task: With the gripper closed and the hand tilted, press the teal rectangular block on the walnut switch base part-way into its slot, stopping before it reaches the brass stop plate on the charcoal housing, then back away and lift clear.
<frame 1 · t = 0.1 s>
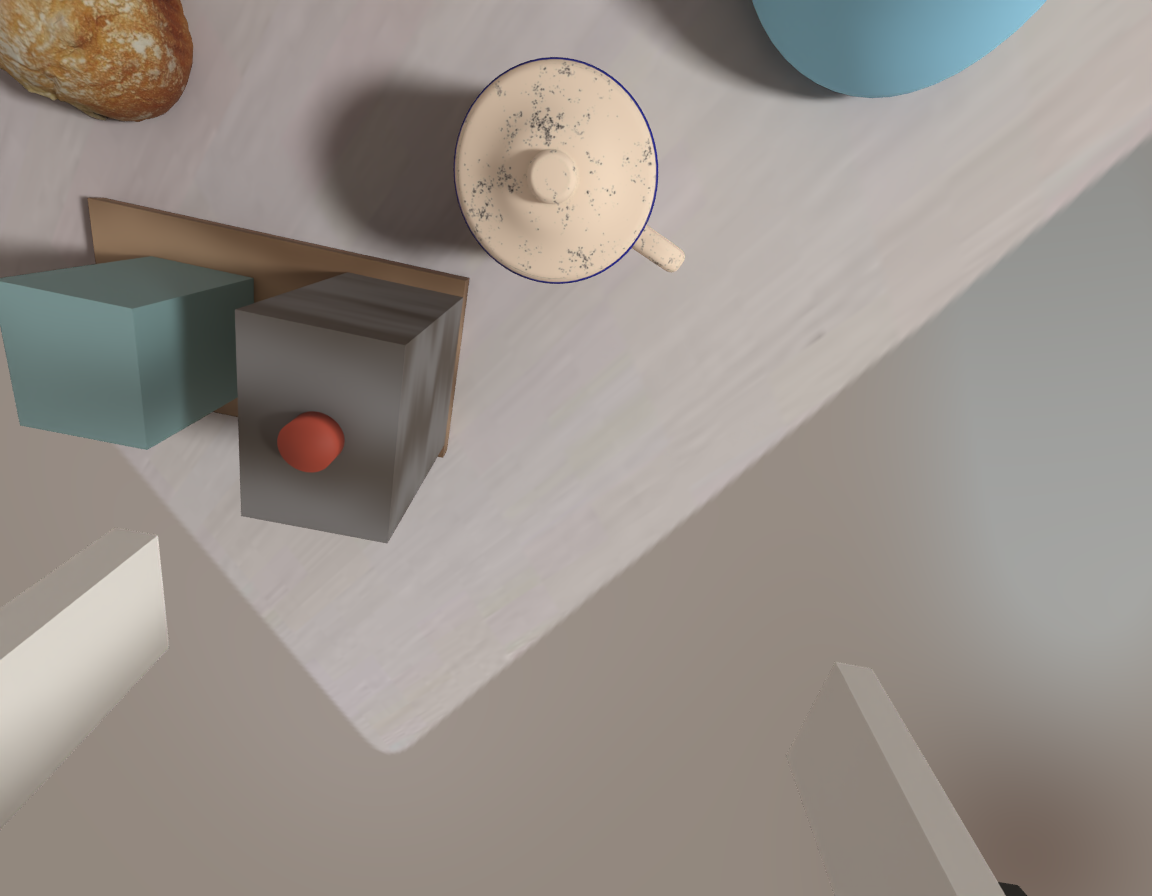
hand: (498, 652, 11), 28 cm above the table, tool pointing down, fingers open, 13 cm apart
teal rectangular block: (149, 343, 31), point 6 cm above the table, slide at 0.0 cm
switch base: (289, 334, 37), on the table
teacup with lid: (584, 196, 34), on the table
bread roll: (105, 13, 31), on the table
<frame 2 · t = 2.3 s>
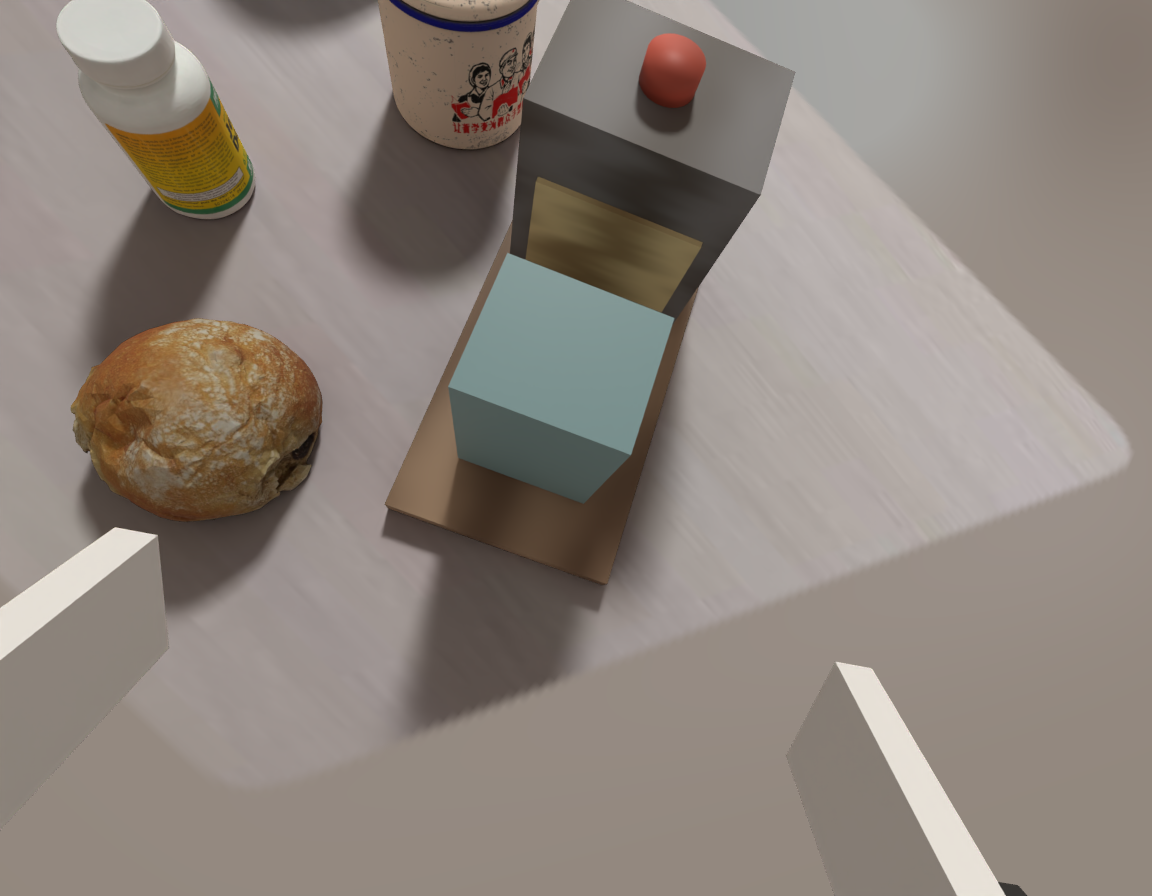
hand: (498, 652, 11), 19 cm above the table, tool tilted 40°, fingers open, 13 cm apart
teal rectangular block: (551, 397, 26), point 6 cm above the table, slide at 0.0 cm
supplement bottle: (210, 186, 34), on the table
switch base: (563, 369, 34), on the table
teacup with lid: (476, 89, 39), on the table
bread roll: (220, 431, 30), on the table
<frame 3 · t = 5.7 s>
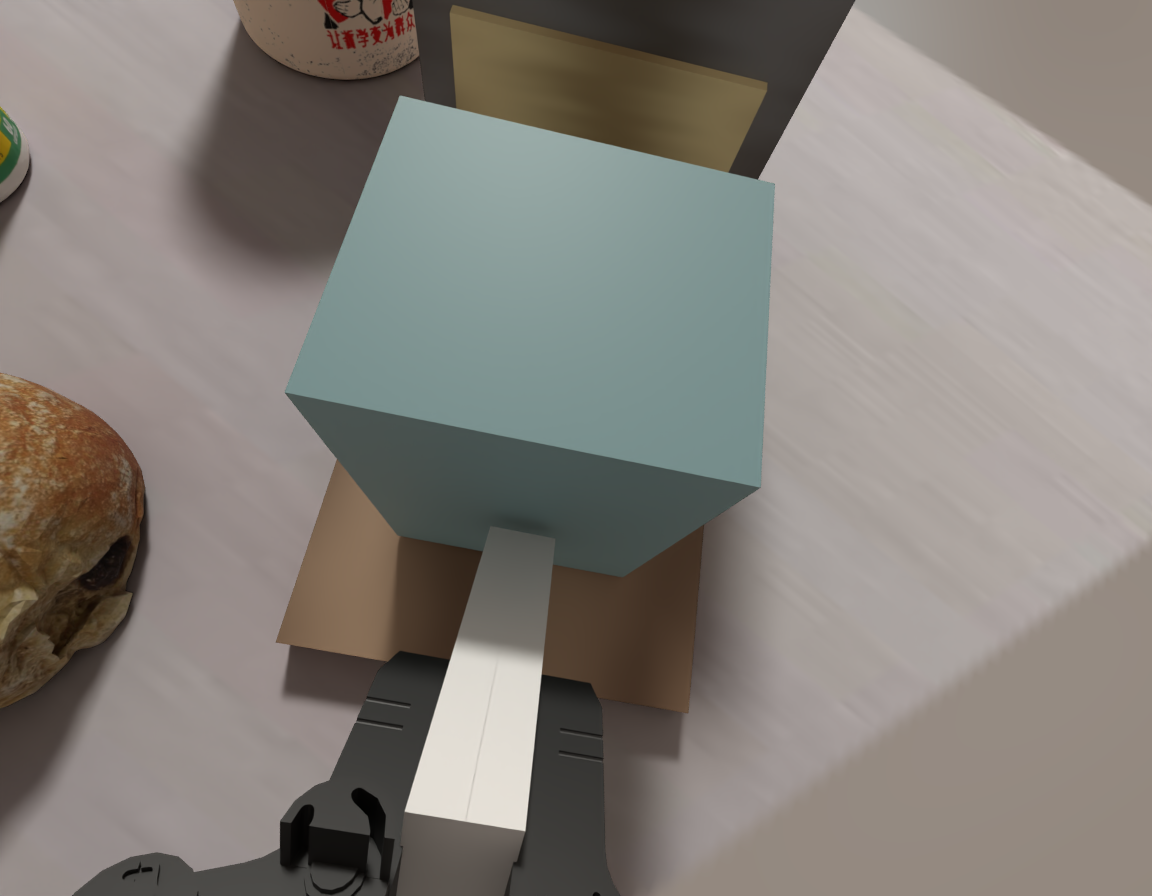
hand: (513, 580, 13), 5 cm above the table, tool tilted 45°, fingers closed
teal rectangular block: (541, 401, 14), point 6 cm above the table, slide at 0.0 cm, touching gripper
switch base: (550, 366, 22), on the table
teacup with lid: (364, 5, 27), on the table
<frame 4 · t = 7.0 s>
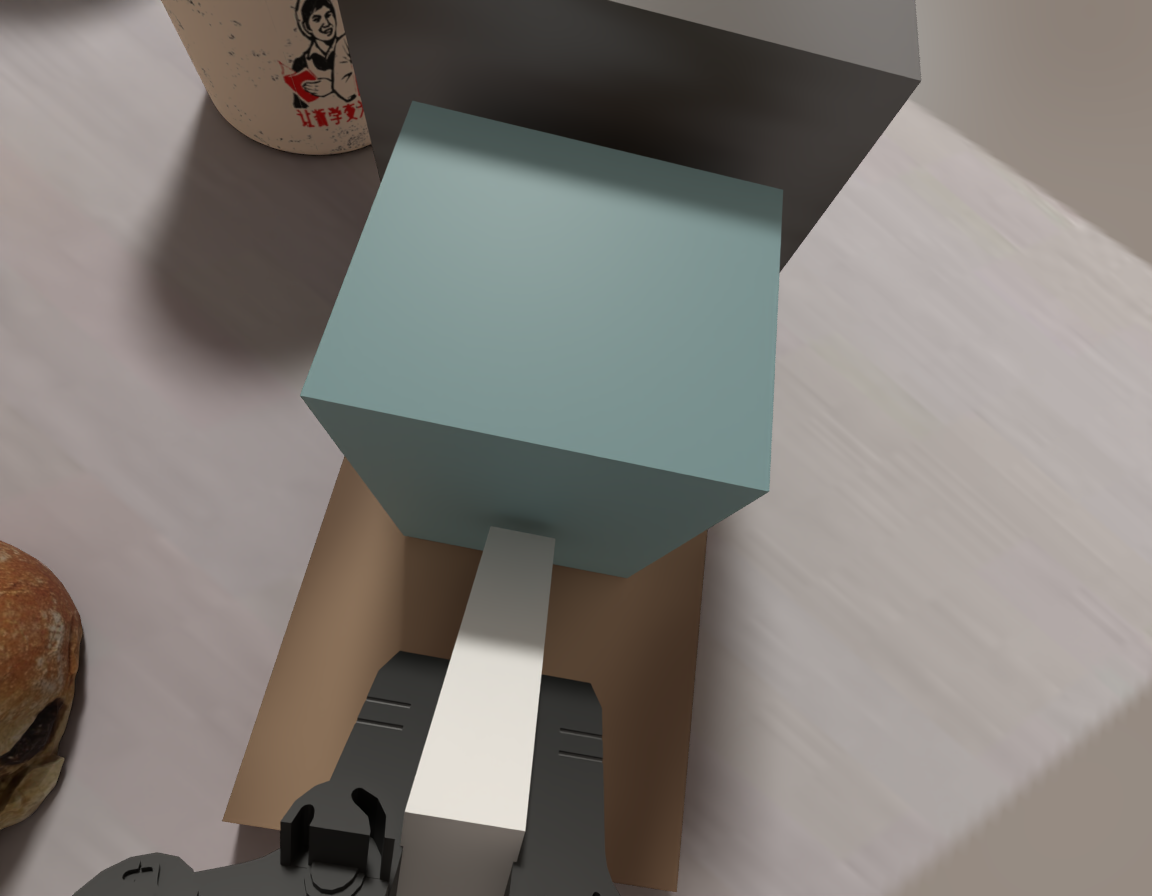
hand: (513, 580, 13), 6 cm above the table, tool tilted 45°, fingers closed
teal rectangular block: (548, 403, 14), point 6 cm above the table, slide at 4.4 cm, touching gripper
switch base: (532, 477, 20), on the table
teacup with lid: (341, 69, 26), on the table
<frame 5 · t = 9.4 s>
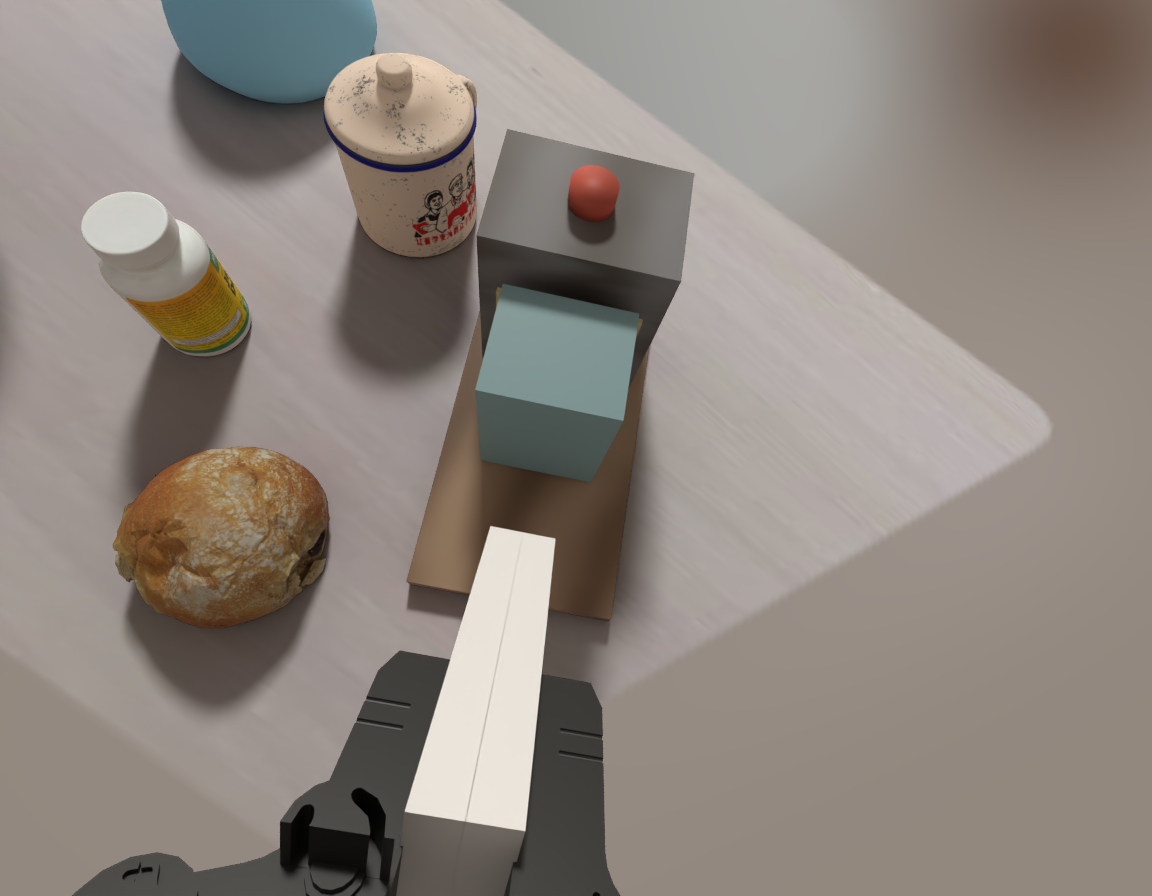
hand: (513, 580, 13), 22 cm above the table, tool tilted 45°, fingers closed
teal rectangular block: (551, 394, 32), point 6 cm above the table, slide at 4.4 cm
sugar bowl: (287, 51, 47), on the table
supplement bottle: (212, 325, 38), on the table
switch base: (543, 435, 38), on the table
teacup with lid: (430, 202, 44), on the table
bread roll: (241, 541, 34), on the table
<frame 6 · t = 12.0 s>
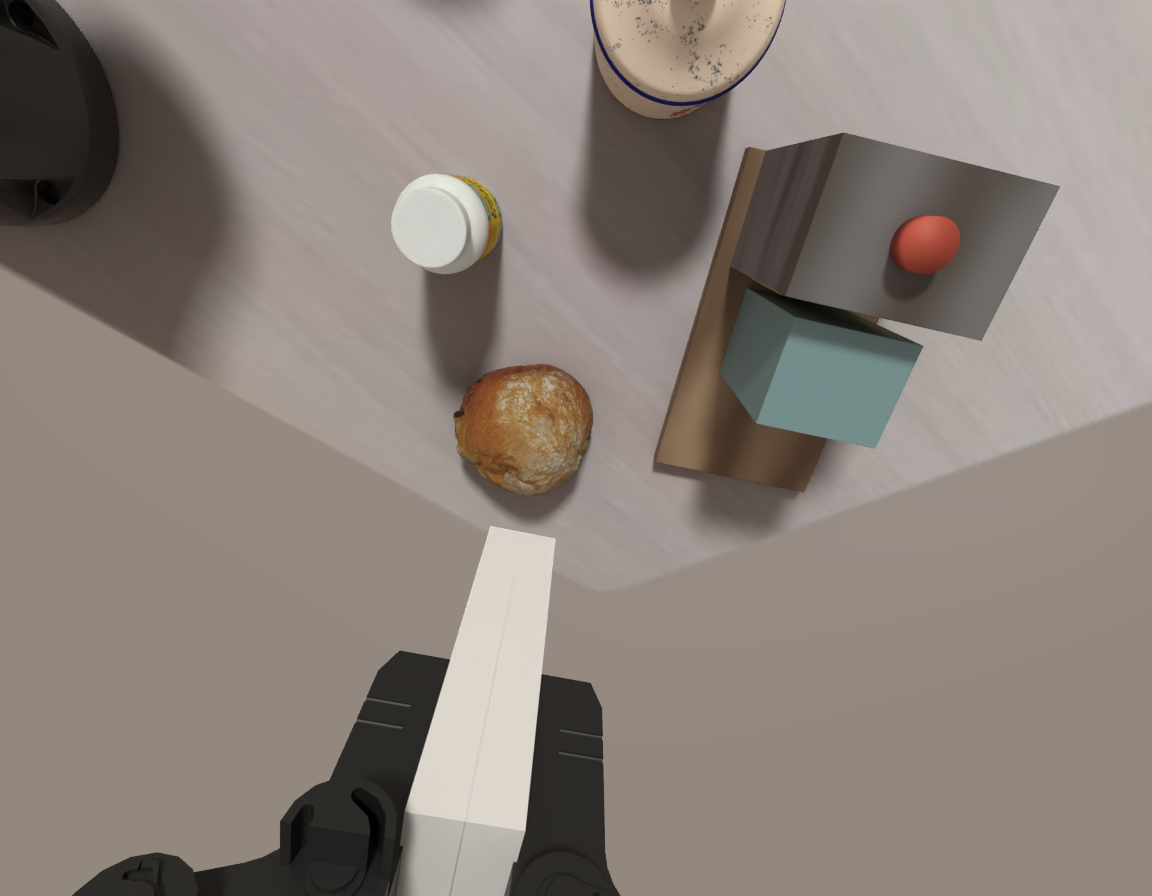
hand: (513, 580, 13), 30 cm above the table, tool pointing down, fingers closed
teal rectangular block: (805, 360, 36), point 6 cm above the table, slide at 4.4 cm
supplement bottle: (465, 220, 39), on the table
switch base: (775, 336, 41), on the table
teacup with lid: (680, 13, 34), on the table
bread roll: (526, 420, 45), on the table
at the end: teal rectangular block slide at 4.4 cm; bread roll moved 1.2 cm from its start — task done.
